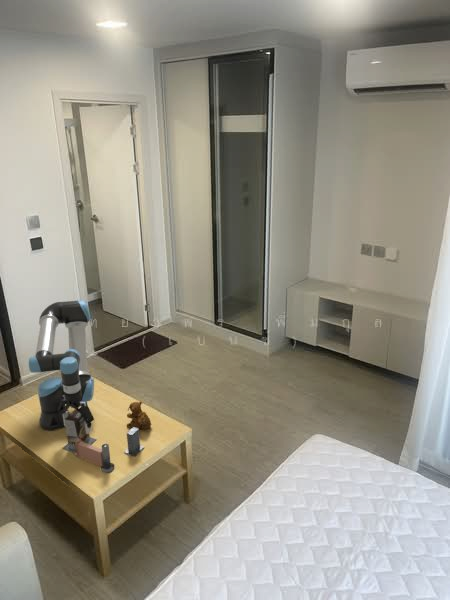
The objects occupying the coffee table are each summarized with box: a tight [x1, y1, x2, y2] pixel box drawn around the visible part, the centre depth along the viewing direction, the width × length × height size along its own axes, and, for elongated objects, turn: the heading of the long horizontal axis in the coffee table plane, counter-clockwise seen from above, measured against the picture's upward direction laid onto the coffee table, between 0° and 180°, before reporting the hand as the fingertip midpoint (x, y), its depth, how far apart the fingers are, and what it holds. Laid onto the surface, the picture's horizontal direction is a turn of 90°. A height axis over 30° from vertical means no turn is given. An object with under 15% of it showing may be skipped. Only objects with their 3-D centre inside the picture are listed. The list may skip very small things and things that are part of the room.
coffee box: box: [65, 409, 91, 449], centre depth 212 cm, size 9×6×16 cm
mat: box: [62, 436, 97, 455], centre depth 215 cm, size 10×12×1 cm
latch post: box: [124, 427, 145, 458], centre depth 209 cm, size 6×7×11 cm
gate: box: [74, 438, 104, 467], centre depth 201 cm, size 15×2×8 cm, turn 64°
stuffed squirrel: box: [126, 401, 153, 430], centre depth 226 cm, size 10×14×13 cm
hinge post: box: [100, 443, 116, 474], centre depth 197 cm, size 6×6×12 cm
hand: (77, 428), depth 212 cm, fingers open, 13 cm apart
